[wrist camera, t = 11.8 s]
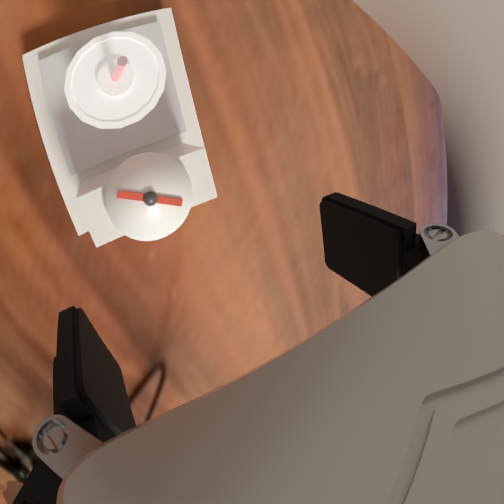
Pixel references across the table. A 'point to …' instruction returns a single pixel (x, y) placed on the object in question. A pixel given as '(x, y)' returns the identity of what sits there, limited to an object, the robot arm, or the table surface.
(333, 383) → the robot arm
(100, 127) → the beverage cup
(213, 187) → the scale
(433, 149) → the table surface
